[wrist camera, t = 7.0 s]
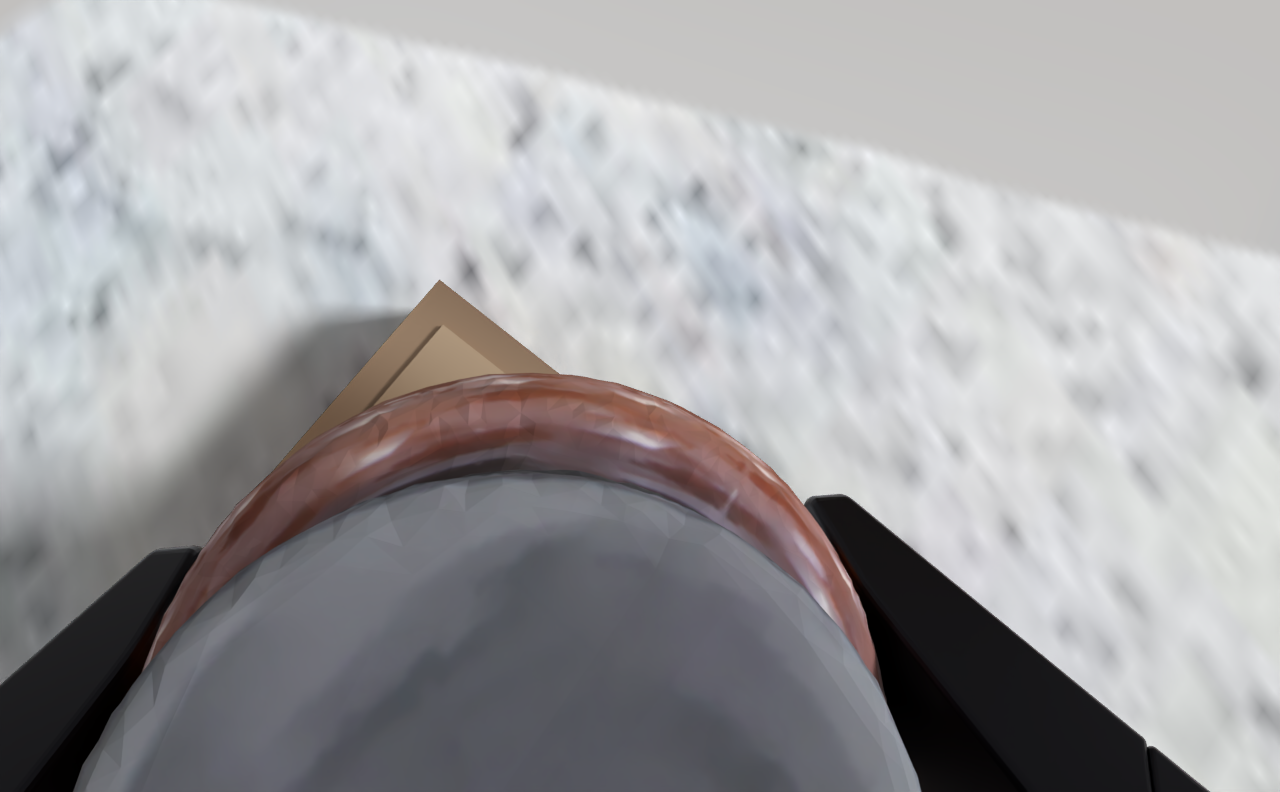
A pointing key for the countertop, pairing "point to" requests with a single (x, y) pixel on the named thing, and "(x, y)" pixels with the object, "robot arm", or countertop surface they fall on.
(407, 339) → the walnut plinth
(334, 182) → the countertop surface
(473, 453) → the supplement bottle
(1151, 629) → the countertop surface
